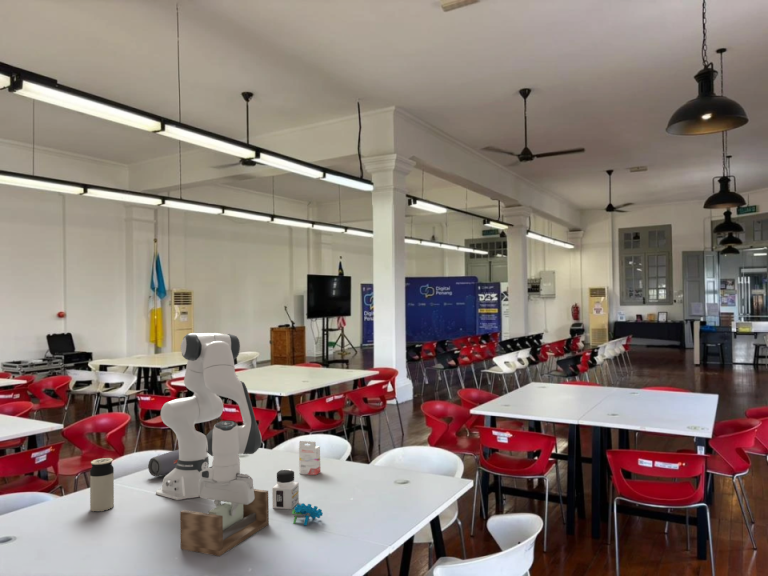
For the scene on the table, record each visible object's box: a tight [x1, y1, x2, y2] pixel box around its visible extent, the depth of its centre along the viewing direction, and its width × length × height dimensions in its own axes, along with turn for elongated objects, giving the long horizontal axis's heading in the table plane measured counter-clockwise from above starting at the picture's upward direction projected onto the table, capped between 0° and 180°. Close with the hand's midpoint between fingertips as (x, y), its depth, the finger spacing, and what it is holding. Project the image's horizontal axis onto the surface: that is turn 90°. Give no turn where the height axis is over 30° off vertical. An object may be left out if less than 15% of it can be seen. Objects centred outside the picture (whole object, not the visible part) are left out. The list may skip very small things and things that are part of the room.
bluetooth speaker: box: [147, 449, 179, 477], centre depth 257 cm, size 23×9×10 cm, turn 148°
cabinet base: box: [179, 488, 270, 557], centre depth 183 cm, size 15×26×12 cm, turn 158°
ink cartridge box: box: [298, 440, 321, 476], centre depth 251 cm, size 9×5×15 cm, turn 73°
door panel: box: [208, 502, 243, 530], centre depth 183 cm, size 3×14×8 cm, turn 158°
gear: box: [291, 502, 323, 527], centre depth 193 cm, size 11×6×10 cm
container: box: [271, 468, 300, 510], centre depth 211 cm, size 8×8×13 cm
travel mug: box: [89, 457, 115, 512], centre depth 212 cm, size 8×8×18 cm
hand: (226, 514), depth 183 cm, fingers open, 3 cm apart
